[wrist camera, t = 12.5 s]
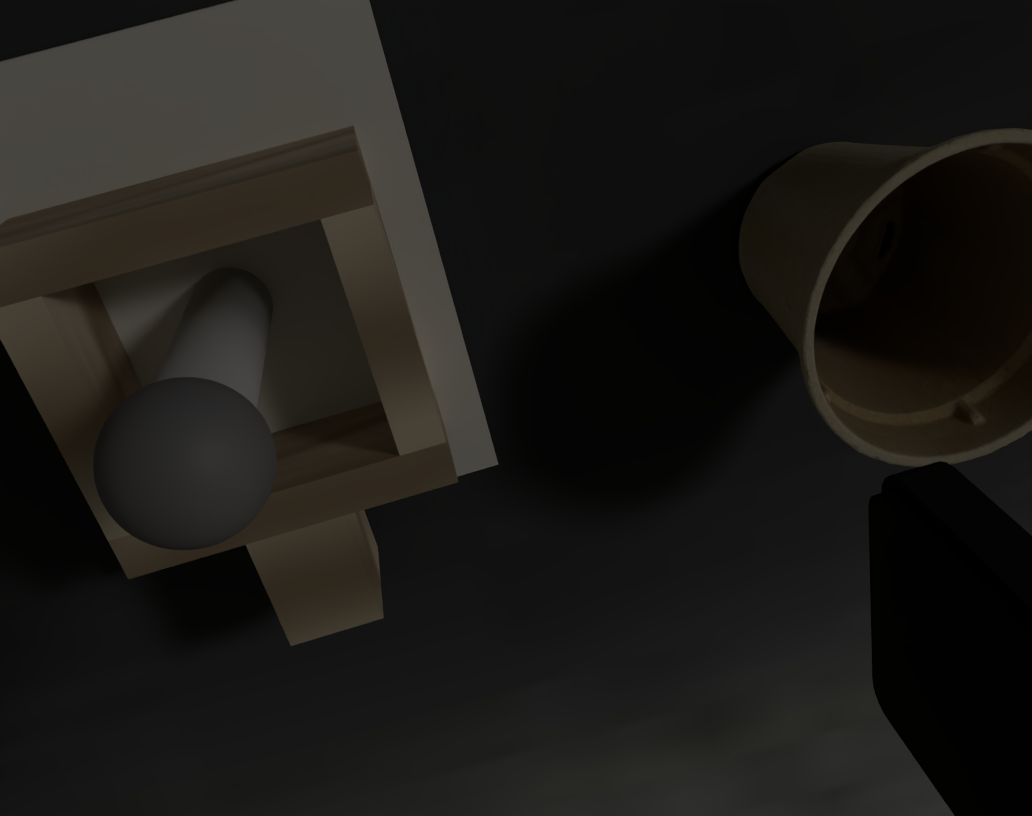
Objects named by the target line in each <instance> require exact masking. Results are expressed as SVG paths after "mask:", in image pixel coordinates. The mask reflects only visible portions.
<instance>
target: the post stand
mask: <svg viewBox="0 0 1032 816" xmlns="http://www.w3.org/2000/svg"><path fill="white" fill-rule="evenodd" d="M353 125H354V128H355V132H356V135H357V138H358V142H359V145H360V148H361V151H362V155H363V158H364V161H365V165H366V168H367V171H368V175H369V178H370V181H371V185H372V188H373V191H374V194H375V198H376V201H377V204H378V208H379V211H380V214H381V218H382V221H383V224H384V227H385V231H386V234H387V237H388V241H389V244H390V247H391V251H392V254H393V257H394V260H395V264H396V267H397V270H398V274H399V277H400V280H401V284H402V287H403V290H404V293H405V297H406V300H407V303H408V307H409V310H410V313H411V317H412V320H413V323H414V326H415V330H416V333H417V336H418V340H419V343H420V346H421V350H422V353H423V356H424V359H425V363H426V366H427V369H428V373H429V376H430V379H431V383H432V386H433V389H434V392H435V396H436V399H437V402H438V406H439V409H440V412H441V416H442V419H443V422H444V426H445V430H446V434H447V438H448V442H449V446H450V450H451V454H452V458H453V462H454V466H455V470H456V474H457V476H461V475H464V474H467V473H471V472H474V471H477V470H481V469H484V468H488V467H491V466H494V465H498V461H497V458H496V454H495V451H494V447H493V443H492V440H491V436H490V433H489V429H488V425H487V422H486V418H485V415H484V411H483V408H482V404H481V400H480V397H479V393H478V390H477V386H476V382H475V379H474V375H473V372H472V368H471V364H470V361H469V357H468V354H467V350H466V347H465V343H464V339H463V336H462V332H461V329H460V325H459V321H458V318H457V314H456V311H455V307H454V304H453V300H452V296H451V293H450V289H449V286H448V282H447V278H446V275H445V271H444V268H443V264H442V260H441V257H440V253H439V250H438V246H437V243H436V239H435V235H434V232H433V228H432V225H431V221H430V217H429V214H428V210H427V207H426V203H425V200H424V196H423V192H422V189H421V185H420V182H419V178H418V174H417V171H416V167H415V164H414V160H413V156H412V153H411V149H410V146H409V142H408V139H407V135H406V131H405V128H404V124H403V121H402V117H401V113H400V110H399V106H398V103H397V99H396V96H395V92H394V88H393V85H392V81H391V78H390V74H389V70H388V67H387V63H386V60H385V56H384V52H383V49H382V45H381V42H380V38H379V35H378V31H377V27H376V24H375V20H374V17H373V13H372V9H371V6H370V2H369V0H234V1H231V2H227V3H223V4H219V5H215V6H211V7H208V8H204V9H200V10H196V11H192V12H188V13H185V14H181V15H177V16H173V17H169V18H165V19H161V20H158V21H154V22H150V23H146V24H142V25H138V26H135V27H131V28H127V29H123V30H119V31H115V32H112V33H108V34H104V35H100V36H96V37H92V38H89V39H85V40H81V41H77V42H73V43H69V44H66V45H62V46H58V47H54V48H50V49H46V50H43V51H39V52H35V53H31V54H27V55H23V56H20V57H16V58H12V59H8V60H4V61H0V225H1V224H2V223H3V222H5V221H6V220H7V219H9V218H12V217H16V216H20V215H23V214H27V213H31V212H35V211H38V210H42V209H46V208H49V207H53V206H57V205H61V204H64V203H68V202H72V201H75V200H79V199H83V198H86V197H90V196H94V195H98V194H101V193H105V192H109V191H112V190H116V189H120V188H123V187H127V186H131V185H135V184H138V183H142V182H146V181H149V180H153V179H157V178H161V177H164V176H168V175H172V174H175V173H179V172H183V171H186V170H190V169H194V168H198V167H201V166H205V165H209V164H212V163H216V162H220V161H223V160H227V159H231V158H235V157H238V156H242V155H246V154H249V153H253V152H257V151H260V150H264V149H268V148H272V147H275V146H279V145H283V144H286V143H290V142H294V141H298V140H301V139H305V138H309V137H312V136H316V135H320V134H323V133H327V132H331V131H335V130H338V129H342V128H346V127H349V126H353ZM94 284H95V287H96V289H97V291H98V293H99V295H100V297H101V299H102V301H103V304H104V306H105V308H106V310H107V312H108V314H109V316H110V319H111V321H112V323H113V325H114V327H115V329H116V331H117V334H118V336H119V338H120V340H121V342H122V344H123V346H124V349H125V351H126V353H127V355H128V357H129V359H130V361H131V364H132V366H133V368H134V370H135V372H136V374H137V376H138V379H139V381H140V383H141V385H142V387H143V388H141V389H139V390H137V391H136V392H134V393H133V394H131V395H130V396H128V397H127V398H126V399H125V400H124V401H122V402H121V403H120V404H119V405H118V406H117V407H116V408H115V409H114V411H113V412H112V413H111V414H110V416H109V417H108V419H107V420H106V422H105V424H104V425H103V427H102V429H101V431H100V434H99V436H98V439H97V442H96V446H95V450H94V458H93V473H94V481H95V485H96V488H97V492H98V495H99V497H100V499H101V502H102V504H103V505H104V507H105V509H106V510H107V512H108V513H109V515H110V516H111V517H112V518H113V519H114V521H115V522H116V523H117V524H118V525H119V526H120V527H121V528H122V529H124V530H125V531H126V532H128V533H129V534H130V535H132V536H134V537H135V538H137V539H139V540H141V541H143V542H145V543H148V544H150V545H153V546H156V547H160V548H165V549H170V550H195V549H202V548H206V547H211V546H214V545H216V544H219V543H221V542H223V541H225V540H227V539H229V538H231V537H233V536H235V535H236V534H238V533H239V532H241V531H242V530H243V529H244V528H246V527H247V526H248V525H249V524H250V523H251V522H252V521H253V520H254V519H255V518H256V516H257V515H258V514H259V513H260V511H261V510H262V508H263V507H264V505H265V503H266V502H267V500H268V498H269V496H270V493H271V491H272V487H273V484H274V480H275V475H276V468H277V464H276V449H275V443H274V440H273V437H272V434H271V433H274V432H277V431H280V430H284V429H287V428H291V427H294V426H298V425H301V424H305V423H308V422H312V421H315V420H319V419H322V418H326V417H329V416H332V415H336V414H339V413H343V412H346V411H350V410H353V409H357V408H360V407H364V406H367V405H371V404H374V403H378V402H381V398H380V395H379V392H378V389H377V386H376V383H375V380H374V377H373V374H372V371H371V368H370V365H369V362H368V359H367V356H366V353H365V350H364V347H363V344H362V341H361V338H360V335H359V332H358V329H357V326H356V323H355V320H354V317H353V315H352V312H351V309H350V306H349V303H348V300H347V297H346V294H345V291H344V288H343V285H342V282H341V279H340V276H339V273H338V270H337V267H336V264H335V261H334V258H333V255H332V252H331V249H330V246H329V243H328V240H327V237H326V234H325V231H324V228H323V225H322V222H321V219H320V220H316V221H312V222H309V223H305V224H302V225H298V226H294V227H291V228H287V229H283V230H280V231H276V232H273V233H269V234H265V235H262V236H258V237H254V238H251V239H247V240H243V241H240V242H236V243H233V244H229V245H225V246H222V247H218V248H214V249H211V250H207V251H204V252H200V253H196V254H193V255H189V256H185V257H182V258H178V259H175V260H171V261H167V262H164V263H160V264H156V265H153V266H149V267H146V268H142V269H138V270H135V271H131V272H127V273H124V274H120V275H116V276H113V277H109V278H106V279H102V280H98V281H95V282H94Z"/></svg>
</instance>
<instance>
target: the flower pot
mask: <svg viewBox="0 0 1032 816" xmlns="http://www.w3.org/2000/svg"><path fill="white" fill-rule="evenodd" d="M888 222H893V237H892V239H891V244H890V246H889V248H888V250H887V251H886V252H885V253H884V255H882V256H881V257H879V256H878V253H879V251H880V248H881V245H882V241H883V238H884V235H885V232H886V225H887V223H888ZM739 261H740V266H741V270H742V272H743V275H744V277H745V280H746V282H747V284H748V287H749V288H750V290H751V292H752V294H753V295H754V296H755V298H756V299H757V300H758V301H759V302H760V303H761V304H762V305H763V306H764V308H765V309H766V310H767V311H768V312H769V314H770V315H771V316H772V317H773V319H774V320H775V321H776V323H777V324H778V325H779V327H780V328H781V329H782V331H783V332H784V333H785V335H786V336H787V337H788V339H789V340H790V341H791V343H792V344H793V345H794V347H795V348H796V349H797V351H798V353H799V357H800V362H801V369H802V374H803V378H804V381H805V385H806V388H807V391H808V393H809V395H810V398H811V400H812V402H813V404H814V406H815V408H816V409H817V411H818V413H819V414H820V416H821V417H822V418H823V420H824V421H825V422H826V424H827V425H828V426H829V427H830V428H831V430H832V431H833V432H834V433H835V434H836V435H837V436H838V437H839V438H840V439H842V440H843V441H844V442H845V443H847V444H848V445H849V446H851V447H852V448H854V449H855V450H856V451H858V452H860V453H862V454H864V455H866V456H869V457H871V458H874V459H877V460H881V461H884V462H886V463H889V464H897V465H902V466H911V467H921V466H925V465H928V464H932V463H935V462H939V461H942V462H947V463H948V464H956V463H960V462H963V461H967V460H971V459H974V458H976V457H980V456H984V455H987V454H989V453H992V452H993V451H995V450H997V449H999V448H1001V447H1003V446H1005V445H1008V444H1009V443H1011V442H1013V441H1015V440H1017V439H1018V438H1021V437H1023V436H1024V435H1025V434H1026V433H1027V432H1029V431H1032V130H1027V129H1019V128H1008V129H990V130H984V131H979V132H974V133H970V134H966V135H963V136H959V137H956V138H953V139H950V140H947V141H945V142H942V143H940V144H937V145H935V146H933V147H910V146H889V145H873V144H859V143H850V142H832V143H825V144H820V145H816V146H813V147H810V148H807V149H805V150H803V151H801V152H800V153H798V154H797V155H796V156H794V157H793V158H791V159H790V160H789V161H787V162H786V163H785V164H784V165H782V166H781V167H780V168H778V169H777V170H776V171H774V172H773V173H772V174H771V175H770V176H768V177H767V178H766V179H765V180H764V181H763V182H762V183H761V185H760V186H759V187H758V189H757V190H756V192H755V194H754V196H753V197H752V199H751V201H750V203H749V205H748V207H747V209H746V212H745V215H744V217H743V220H742V224H741V229H740V235H739Z"/></svg>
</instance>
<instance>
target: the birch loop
mask: <svg viewBox="0 0 1032 816" xmlns="http://www.w3.org/2000/svg"><path fill="white" fill-rule="evenodd" d="M320 219H321V222H322V225H323V228H324V231H325V234H326V237H327V240H328V243H329V246H330V249H331V252H332V255H333V258H334V261H335V264H336V267H337V270H338V273H339V276H340V279H341V282H342V285H343V288H344V291H345V294H346V297H347V300H348V303H349V306H350V309H351V312H352V315H353V317H354V320H355V323H356V326H357V329H358V332H359V335H360V338H361V341H362V344H363V347H364V350H365V353H366V356H367V359H368V362H369V365H370V368H371V371H372V374H373V377H374V380H375V383H376V386H377V389H378V392H379V395H380V398H381V402H378V403H374V404H371V405H367V406H364V407H360V408H357V409H353V410H350V411H346V412H343V413H339V414H336V415H332V416H329V417H326V418H322V419H319V420H315V421H312V422H308V423H305V424H301V425H298V426H294V427H291V428H287V429H284V430H280V431H277V432H274V433H271V434H272V437H273V440H274V443H275V449H276V464H277V468H276V475H275V480H274V484H273V487H272V491H271V493H270V496H269V498H268V500H267V502H266V503H265V505H264V507H263V508H262V510H261V511H260V513H259V514H258V515H257V516H256V518H255V519H254V520H253V521H252V522H251V523H250V524H249V525H248V526H247V527H246V528H244V529H243V530H242V531H241V532H239V533H238V534H236V535H235V536H233V537H231V538H229V539H227V540H225V541H223V542H221V543H219V544H216V545H214V546H211V547H206V548H202V549H195V550H170V549H165V548H160V547H156V546H153V545H150V544H148V543H145V542H143V541H141V540H139V539H137V538H135V537H134V536H132V535H130V534H129V533H128V532H126V531H125V530H124V529H122V528H121V527H120V526H119V525H118V524H117V523H116V522H115V521H114V519H113V518H112V517H111V516H110V515H109V513H108V512H107V510H106V509H105V507H104V505H103V504H102V502H101V499H100V497H99V495H98V492H97V488H96V485H95V481H94V473H93V458H94V450H95V446H96V442H97V439H98V436H99V434H100V431H101V429H102V427H103V425H104V424H105V422H106V420H107V419H108V417H109V416H110V414H111V413H112V412H113V411H114V409H115V408H116V407H117V406H118V405H119V404H120V403H121V402H122V401H124V400H125V399H126V398H127V397H128V396H130V395H131V394H133V393H134V392H136V391H137V390H139V389H141V388H143V387H142V385H141V383H140V381H139V379H138V376H137V374H136V372H135V370H134V368H133V366H132V364H131V361H130V359H129V357H128V355H127V353H126V351H125V349H124V346H123V344H122V342H121V340H120V338H119V336H118V334H117V331H116V329H115V327H114V325H113V323H112V321H111V319H110V316H109V314H108V312H107V310H106V308H105V306H104V304H103V301H102V299H101V297H100V295H99V293H98V291H97V289H96V287H95V284H94V282H95V281H98V280H102V279H106V278H109V277H113V276H116V275H120V274H124V273H127V272H131V271H135V270H138V269H142V268H146V267H149V266H153V265H156V264H160V263H164V262H167V261H171V260H175V259H178V258H182V257H185V256H189V255H193V254H196V253H200V252H204V251H207V250H211V249H214V248H218V247H222V246H225V245H229V244H233V243H236V242H240V241H243V240H247V239H251V238H254V237H258V236H262V235H265V234H269V233H273V232H276V231H280V230H283V229H287V228H291V227H294V226H298V225H302V224H305V223H309V222H312V221H316V220H320ZM0 339H1V341H2V343H3V345H4V347H5V349H6V351H7V352H8V354H9V356H10V358H11V360H12V362H13V364H14V366H15V367H16V369H17V371H18V373H19V375H20V377H21V379H22V381H23V382H24V384H25V386H26V388H27V390H28V392H29V394H30V396H31V397H32V399H33V401H34V403H35V405H36V407H37V409H38V411H39V412H40V414H41V416H42V418H43V420H44V422H45V424H46V426H47V427H48V429H49V431H50V433H51V435H52V437H53V439H54V441H55V442H56V444H57V446H58V448H59V450H60V452H61V454H62V456H63V457H64V459H65V461H66V463H67V465H68V467H69V469H70V471H71V472H72V474H73V476H74V478H75V480H76V482H77V484H78V486H79V487H80V489H81V491H82V493H83V495H84V497H85V499H86V501H87V502H88V504H89V506H90V508H91V510H92V512H93V514H94V516H95V517H96V519H97V521H98V523H99V525H100V527H101V529H102V531H103V532H104V534H105V536H106V538H107V540H108V542H109V544H110V546H111V547H112V549H113V551H114V553H115V555H116V557H117V559H118V561H119V562H120V564H121V566H122V568H123V570H124V572H125V574H126V576H127V577H128V579H131V578H135V577H138V576H141V575H145V574H148V573H152V572H155V571H158V570H162V569H165V568H169V567H172V566H175V565H179V564H182V563H185V562H189V561H192V560H196V559H199V558H202V557H206V556H209V555H213V554H216V553H219V552H223V551H226V550H230V549H233V548H236V547H240V546H243V545H246V547H247V549H248V551H249V554H250V556H251V558H252V560H253V562H254V565H255V567H256V569H257V571H258V574H259V576H260V578H261V580H262V583H263V585H264V587H265V589H266V591H267V594H268V596H269V598H270V600H271V603H272V605H273V607H274V609H275V611H276V614H277V616H278V618H279V620H280V623H281V625H282V627H283V629H284V632H285V634H286V636H287V638H288V640H289V643H290V645H291V646H293V645H296V644H299V643H302V642H306V641H309V640H312V639H316V638H319V637H322V636H326V635H329V634H332V633H336V632H339V631H342V630H345V629H349V628H352V627H355V626H359V625H362V624H365V623H369V622H372V621H375V620H378V619H382V618H383V606H382V594H381V582H380V570H379V558H378V547H377V544H376V541H375V539H374V536H373V533H372V530H371V528H370V525H369V522H368V520H367V517H366V514H365V511H364V510H365V509H368V508H372V507H375V506H379V505H382V504H385V503H389V502H392V501H396V500H399V499H402V498H406V497H409V496H413V495H416V494H419V493H423V492H426V491H429V490H433V489H436V488H440V487H443V486H446V485H450V484H453V483H457V482H458V478H457V474H456V470H455V466H454V462H453V458H452V454H451V450H450V446H449V442H448V438H447V434H446V430H445V426H444V422H443V419H442V416H441V412H440V409H439V406H438V402H437V399H436V396H435V392H434V389H433V386H432V383H431V379H430V376H429V373H428V369H427V366H426V363H425V359H424V356H423V353H422V350H421V346H420V343H419V340H418V336H417V333H416V330H415V326H414V323H413V320H412V317H411V313H410V310H409V307H408V303H407V300H406V297H405V293H404V290H403V287H402V284H401V280H400V277H399V274H398V270H397V267H396V264H395V260H394V257H393V254H392V251H391V247H390V244H389V241H388V237H387V234H386V231H385V227H384V224H383V221H382V218H381V214H380V211H379V208H378V204H377V201H376V198H375V194H374V191H373V188H372V185H371V181H370V178H369V175H368V171H367V168H366V165H365V161H364V158H363V155H362V151H361V148H360V145H359V142H358V138H357V135H356V132H355V128H354V125H353V126H349V127H346V128H342V129H338V130H335V131H331V132H327V133H323V134H320V135H316V136H312V137H309V138H305V139H301V140H298V141H294V142H290V143H286V144H283V145H279V146H275V147H272V148H268V149H264V150H260V151H257V152H253V153H249V154H246V155H242V156H238V157H235V158H231V159H227V160H223V161H220V162H216V163H212V164H209V165H205V166H201V167H198V168H194V169H190V170H186V171H183V172H179V173H175V174H172V175H168V176H164V177H161V178H157V179H153V180H149V181H146V182H142V183H138V184H135V185H131V186H127V187H123V188H120V189H116V190H112V191H109V192H105V193H101V194H98V195H94V196H90V197H86V198H83V199H79V200H75V201H72V202H68V203H64V204H61V205H57V206H53V207H49V208H46V209H42V210H38V211H35V212H31V213H27V214H23V215H20V216H16V217H12V218H9V219H7V220H6V221H5V222H3V223H2V224H1V225H0Z"/></svg>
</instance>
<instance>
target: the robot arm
mask: <svg viewBox="0 0 1032 816" xmlns="http://www.w3.org/2000/svg"><path fill="white" fill-rule="evenodd" d="M869 550H870V593H871V635H872V678H873V686H874V690H875V694H876V697H877V699H878V702H879V704H880V706H881V709H882V711H883V712H884V714H885V716H886V717H887V719H888V720H889V722H890V723H891V725H892V726H893V728H894V729H895V730H896V732H897V733H898V735H899V736H900V738H901V739H902V740H903V742H904V743H905V745H906V746H907V748H908V749H909V751H910V752H911V753H912V755H913V756H914V758H915V759H916V761H917V762H918V764H919V765H920V766H921V768H922V769H923V771H924V772H925V774H926V775H927V776H928V778H929V779H930V781H931V782H932V784H933V785H934V787H935V788H936V789H937V791H938V792H939V794H940V795H941V797H942V798H943V800H944V801H945V802H946V804H947V805H948V807H949V808H950V810H951V811H952V812H953V814H954V815H955V816H1032V536H1031V535H1030V534H1029V533H1028V532H1027V531H1025V530H1024V529H1023V528H1022V527H1021V526H1020V525H1019V524H1018V523H1016V522H1015V521H1014V520H1013V519H1012V518H1011V517H1010V516H1009V515H1007V514H1006V513H1005V512H1004V511H1003V510H1002V509H1001V508H1000V507H998V506H997V505H996V504H995V503H994V502H993V501H992V500H991V499H989V498H988V497H987V496H986V495H985V494H984V493H983V492H982V491H980V490H979V489H978V488H977V487H976V486H975V485H974V484H972V483H971V482H970V481H969V480H968V479H967V478H966V477H965V476H963V475H962V474H961V473H960V472H959V471H958V470H957V469H956V468H954V467H953V466H951V465H950V464H948V463H947V462H942V461H939V462H935V463H932V464H928V465H925V466H921V467H918V468H914V469H911V470H907V471H904V472H900V473H897V474H893V475H890V476H888V477H886V478H885V479H884V482H883V484H882V491H881V493H880V494H877V495H874V496H872V497H871V498H870V501H869Z"/></svg>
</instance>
